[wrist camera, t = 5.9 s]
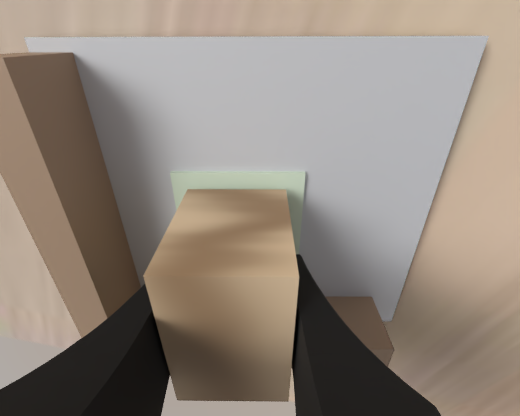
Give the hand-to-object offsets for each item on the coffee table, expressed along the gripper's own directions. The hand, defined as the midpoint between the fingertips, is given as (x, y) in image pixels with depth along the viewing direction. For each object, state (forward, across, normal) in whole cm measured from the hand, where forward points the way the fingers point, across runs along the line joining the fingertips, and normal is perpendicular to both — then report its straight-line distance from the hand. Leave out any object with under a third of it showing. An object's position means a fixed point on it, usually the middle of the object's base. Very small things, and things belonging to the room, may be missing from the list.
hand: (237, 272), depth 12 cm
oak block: (+2, 0, 0) cm, 2 cm away
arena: (+3, 0, -1) cm, 3 cm away
